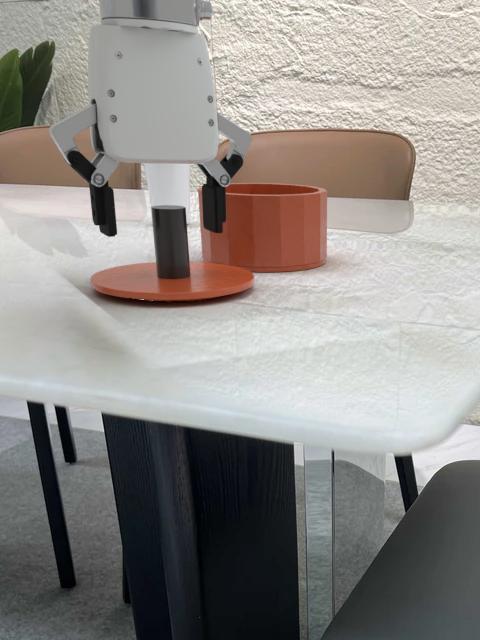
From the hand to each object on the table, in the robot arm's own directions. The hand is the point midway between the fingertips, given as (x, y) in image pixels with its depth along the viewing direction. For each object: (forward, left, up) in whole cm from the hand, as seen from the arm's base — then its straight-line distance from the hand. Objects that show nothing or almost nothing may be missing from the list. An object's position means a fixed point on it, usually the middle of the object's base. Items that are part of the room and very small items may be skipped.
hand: (162, 232), depth 69 cm
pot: (+15, +10, -5) cm, 18 cm away
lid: (+1, 0, -4) cm, 4 cm away
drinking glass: (+15, +41, -5) cm, 44 cm away
